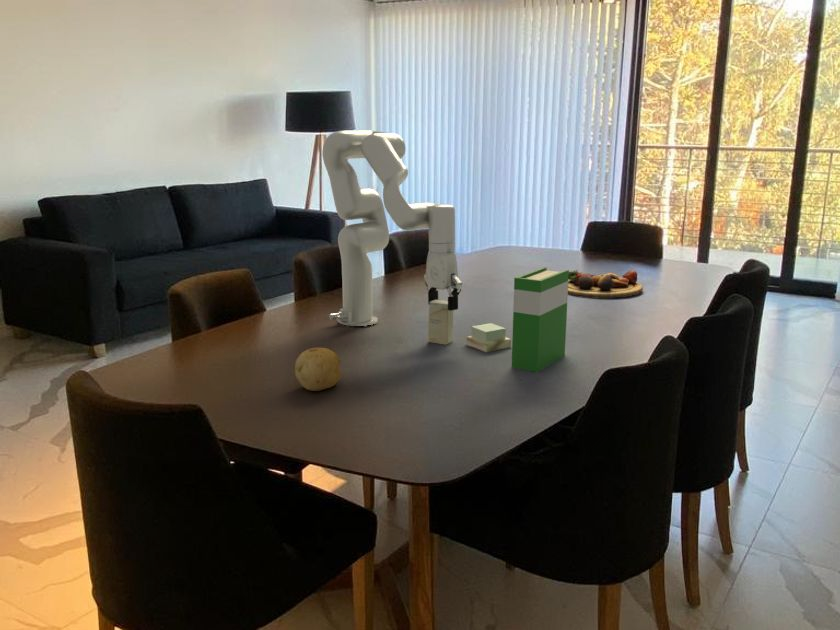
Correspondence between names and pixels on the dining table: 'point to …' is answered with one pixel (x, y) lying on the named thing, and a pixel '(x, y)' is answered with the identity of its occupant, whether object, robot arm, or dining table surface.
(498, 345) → the tower base
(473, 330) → the tower top
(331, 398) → the dining table surface
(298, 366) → the potato
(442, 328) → the skincare box
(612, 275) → the wooden plate with food
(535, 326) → the hardback book
